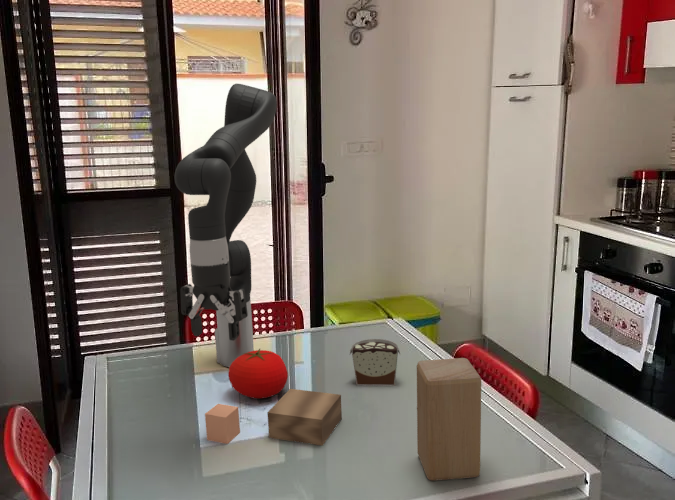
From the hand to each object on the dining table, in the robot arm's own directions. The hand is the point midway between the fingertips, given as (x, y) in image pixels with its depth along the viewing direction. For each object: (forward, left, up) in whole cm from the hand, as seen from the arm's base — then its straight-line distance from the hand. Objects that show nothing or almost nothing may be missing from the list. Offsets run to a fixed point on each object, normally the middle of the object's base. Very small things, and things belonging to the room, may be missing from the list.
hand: (215, 337), depth 134 cm
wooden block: (+47, +4, -22) cm, 52 cm away
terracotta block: (0, 0, -22) cm, 22 cm away
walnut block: (+15, +9, -22) cm, 28 cm away
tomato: (-3, +21, -22) cm, 31 cm away
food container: (+21, +37, -22) cm, 48 cm away
